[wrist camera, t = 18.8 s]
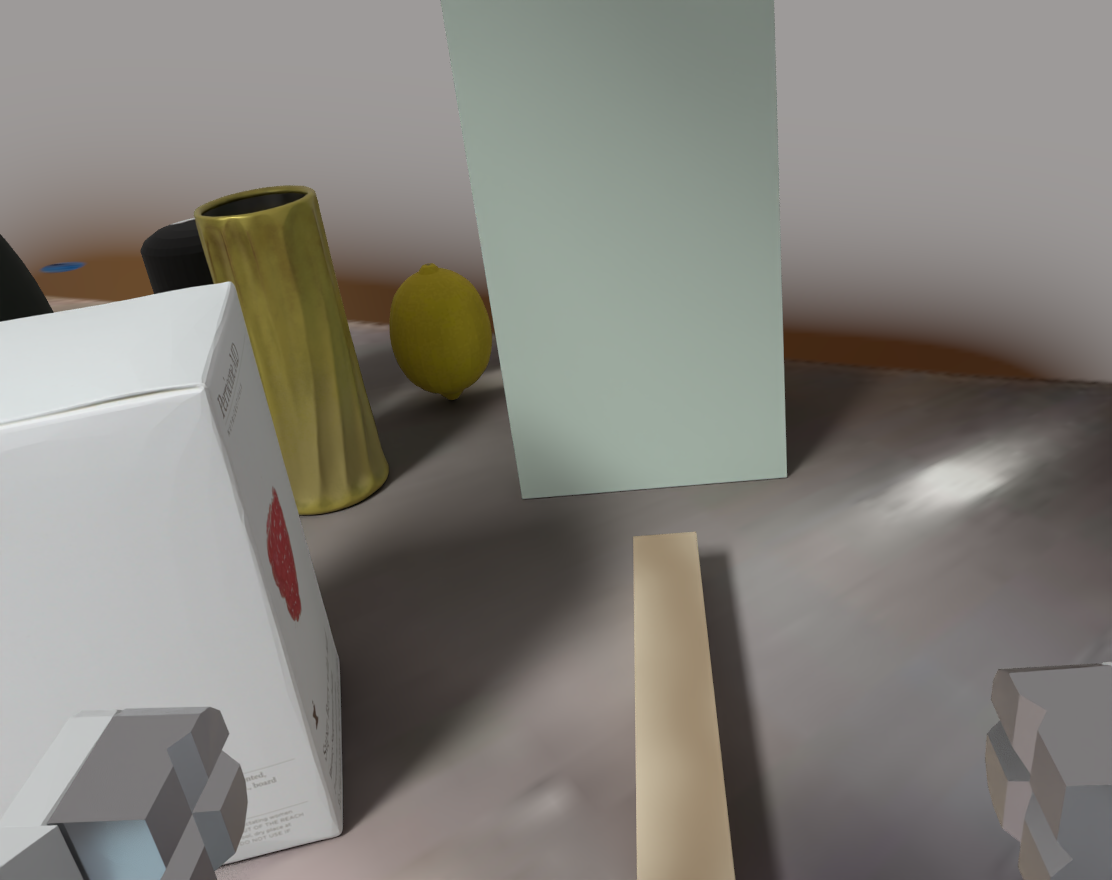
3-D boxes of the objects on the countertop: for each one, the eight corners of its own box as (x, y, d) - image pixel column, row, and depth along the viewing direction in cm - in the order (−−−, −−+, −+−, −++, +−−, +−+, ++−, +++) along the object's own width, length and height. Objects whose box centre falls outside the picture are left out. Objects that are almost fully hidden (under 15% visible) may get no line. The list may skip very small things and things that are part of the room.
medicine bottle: (306, 453, 54) (247, 233, 49) (175, 469, 54) (102, 252, 49) (331, 398, 60) (280, 198, 55) (213, 412, 61) (152, 215, 55)
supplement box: (351, 842, 30) (209, 381, 23) (37, 920, 29) (-206, 461, 22) (345, 655, 38) (239, 272, 31) (100, 711, 37) (-65, 326, 30)
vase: (245, 518, 48) (154, 225, 42) (297, 456, 54) (223, 188, 47) (364, 516, 47) (290, 214, 41) (405, 453, 52) (345, 177, 46)
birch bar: (649, 1121, 22) (638, 1055, 21) (639, 587, 40) (633, 536, 39) (759, 1120, 22) (754, 1053, 21) (699, 583, 40) (695, 531, 39)
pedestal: (522, 498, 47) (416, -148, 35) (537, 405, 56) (456, -136, 44) (786, 477, 45) (768, -202, 34) (759, 385, 54) (737, -178, 43)
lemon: (452, 428, 54) (425, 286, 51) (385, 408, 58) (355, 274, 54) (521, 389, 58) (500, 253, 54) (454, 372, 61) (430, 244, 58)
